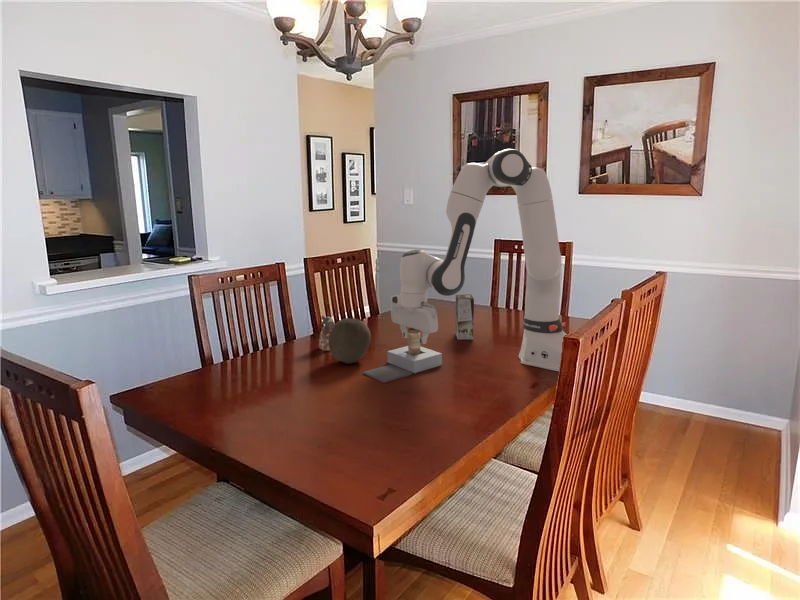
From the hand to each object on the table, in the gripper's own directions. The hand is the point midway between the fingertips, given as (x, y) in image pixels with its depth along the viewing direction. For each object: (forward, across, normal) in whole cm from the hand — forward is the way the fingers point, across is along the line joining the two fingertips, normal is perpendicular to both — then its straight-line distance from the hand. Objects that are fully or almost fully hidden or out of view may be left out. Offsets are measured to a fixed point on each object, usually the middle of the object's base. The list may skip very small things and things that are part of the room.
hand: (414, 340), depth 178 cm
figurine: (+8, +35, +12) cm, 38 cm away
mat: (+8, -2, +13) cm, 15 cm away
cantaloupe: (+8, +16, +15) cm, 23 cm away
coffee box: (+8, +12, -36) cm, 39 cm away
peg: (+8, 0, 0) cm, 8 cm away
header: (+8, 0, 0) cm, 8 cm away
